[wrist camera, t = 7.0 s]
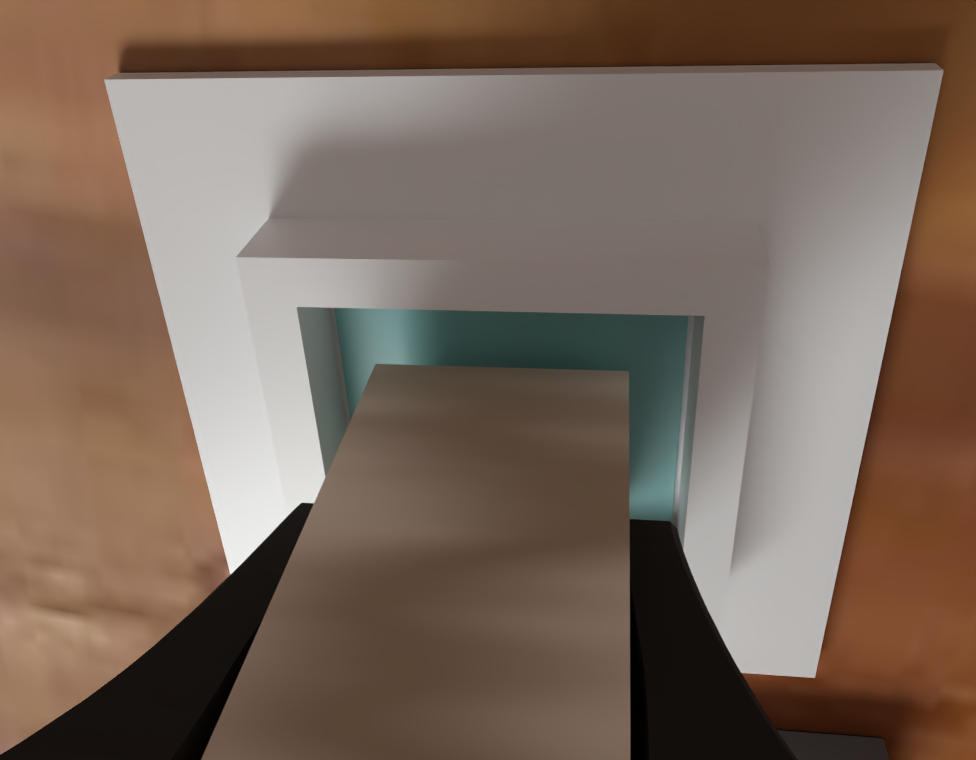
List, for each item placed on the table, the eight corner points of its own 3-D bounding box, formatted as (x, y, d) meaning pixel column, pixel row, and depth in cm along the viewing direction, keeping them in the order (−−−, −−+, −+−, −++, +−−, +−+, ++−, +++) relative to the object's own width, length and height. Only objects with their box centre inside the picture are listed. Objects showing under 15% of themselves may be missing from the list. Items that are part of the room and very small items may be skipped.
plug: (628, 370, 14) (631, 881, 8) (620, 563, 16) (616, 1096, 10) (375, 363, 15) (167, 836, 8) (399, 551, 17) (249, 1049, 10)
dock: (936, 63, 13) (979, 101, 11) (811, 662, 19) (828, 741, 18) (116, 72, 14) (52, 107, 13) (253, 624, 21) (221, 693, 19)
